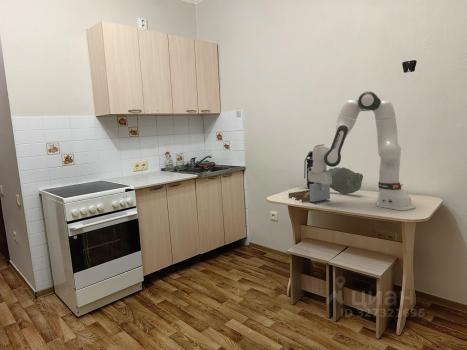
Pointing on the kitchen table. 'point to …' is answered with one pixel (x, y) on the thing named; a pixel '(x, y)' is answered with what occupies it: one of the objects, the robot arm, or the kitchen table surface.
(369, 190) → the kitchen table surface
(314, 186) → the blue-gray rectangular block
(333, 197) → the kitchen table surface
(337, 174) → the rock
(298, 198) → the rack
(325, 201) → the mat
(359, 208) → the kitchen table surface
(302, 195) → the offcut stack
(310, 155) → the grenade
